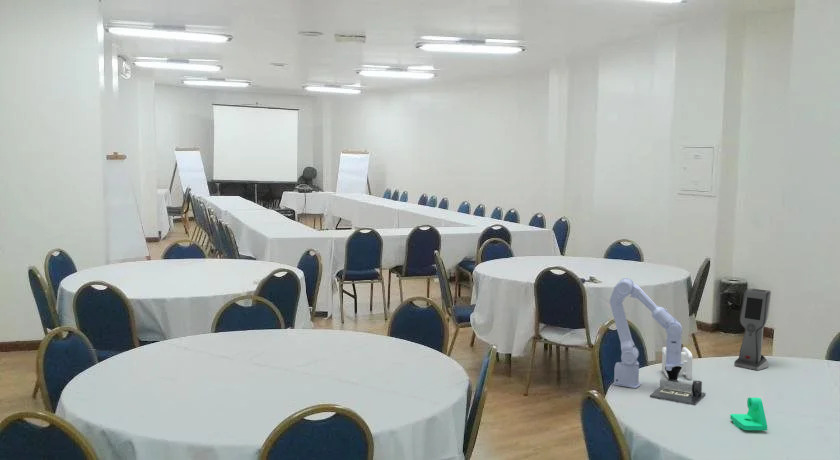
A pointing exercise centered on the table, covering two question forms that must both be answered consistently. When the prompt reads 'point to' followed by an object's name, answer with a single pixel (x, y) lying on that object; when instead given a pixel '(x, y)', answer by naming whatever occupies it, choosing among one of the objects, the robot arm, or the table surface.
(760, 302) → the thermal camera
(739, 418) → the camera mount
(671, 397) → the lid
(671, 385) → the bar
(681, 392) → the label
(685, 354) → the cable organizer
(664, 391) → the label
